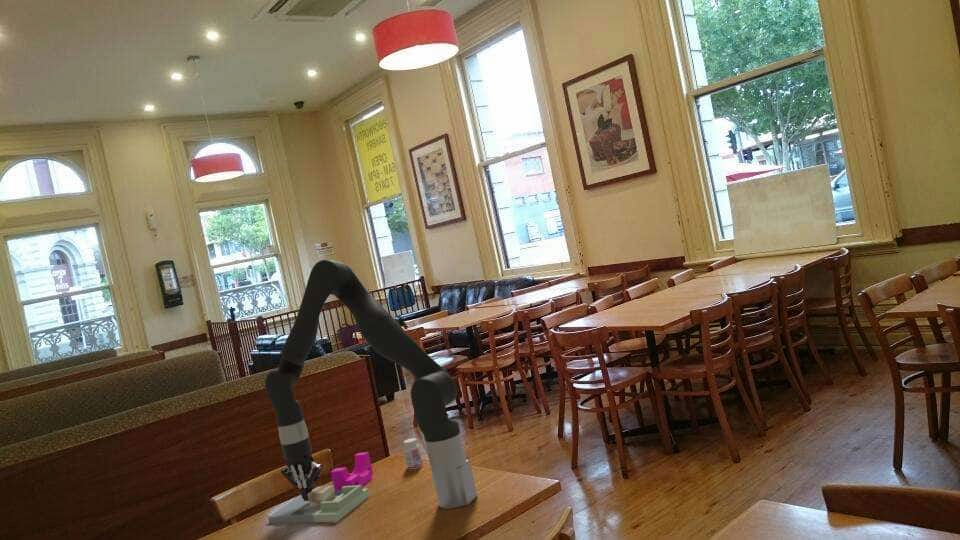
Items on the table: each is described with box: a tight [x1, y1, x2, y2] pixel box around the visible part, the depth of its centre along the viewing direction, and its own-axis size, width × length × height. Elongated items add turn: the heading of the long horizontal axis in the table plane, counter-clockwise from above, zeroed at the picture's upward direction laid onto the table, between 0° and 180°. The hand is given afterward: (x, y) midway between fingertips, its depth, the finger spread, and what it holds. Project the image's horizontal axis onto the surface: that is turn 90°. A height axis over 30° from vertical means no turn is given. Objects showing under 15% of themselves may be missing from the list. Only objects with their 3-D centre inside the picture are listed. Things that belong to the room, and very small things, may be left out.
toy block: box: [330, 451, 374, 491], centre depth 200 cm, size 15×6×8 cm, turn 158°
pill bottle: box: [403, 437, 424, 470], centre depth 205 cm, size 5×5×8 cm
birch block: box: [307, 485, 336, 507], centre depth 183 cm, size 5×5×4 cm
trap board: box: [267, 485, 371, 524], centre depth 184 cm, size 22×16×4 cm
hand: (308, 499), depth 185 cm, fingers closed
